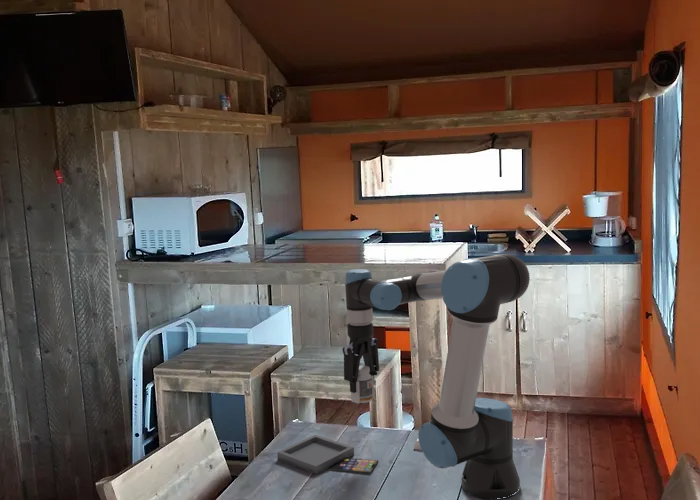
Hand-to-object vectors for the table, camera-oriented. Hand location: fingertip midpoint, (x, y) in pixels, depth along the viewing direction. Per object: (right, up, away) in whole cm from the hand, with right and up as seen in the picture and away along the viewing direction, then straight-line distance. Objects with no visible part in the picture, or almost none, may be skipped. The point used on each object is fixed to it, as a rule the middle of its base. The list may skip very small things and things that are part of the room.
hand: (362, 399), depth 205 cm
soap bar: (+19, -16, +7) cm, 26 cm away
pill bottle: (0, 0, 0) cm, 1 cm away
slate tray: (-14, -17, +1) cm, 22 cm away
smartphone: (-4, -18, -6) cm, 20 cm away
